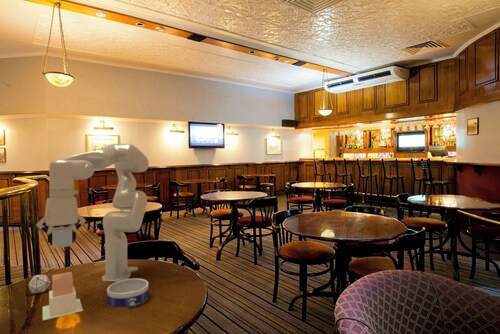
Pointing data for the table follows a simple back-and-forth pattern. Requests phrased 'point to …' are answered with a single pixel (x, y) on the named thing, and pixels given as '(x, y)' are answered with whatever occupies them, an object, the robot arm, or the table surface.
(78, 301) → the plate
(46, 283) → the game die
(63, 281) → the terracotta brick
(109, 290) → the dog bowl
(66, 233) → the slate brick
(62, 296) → the base brick
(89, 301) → the table surface
